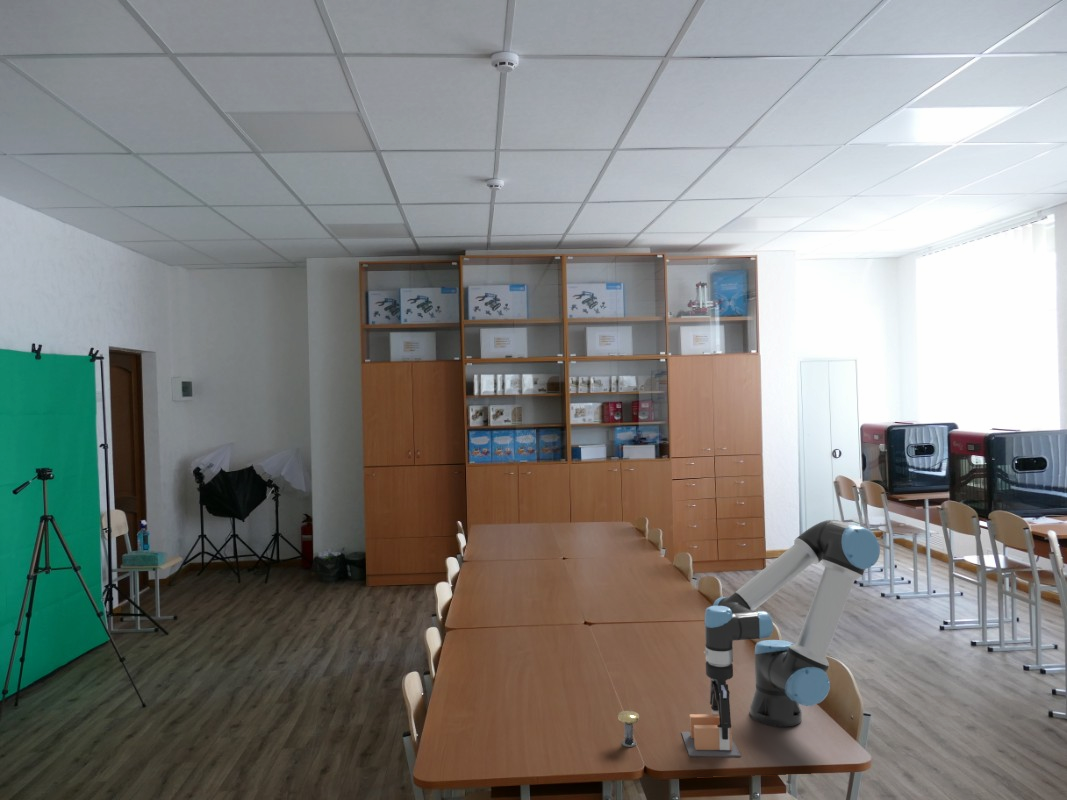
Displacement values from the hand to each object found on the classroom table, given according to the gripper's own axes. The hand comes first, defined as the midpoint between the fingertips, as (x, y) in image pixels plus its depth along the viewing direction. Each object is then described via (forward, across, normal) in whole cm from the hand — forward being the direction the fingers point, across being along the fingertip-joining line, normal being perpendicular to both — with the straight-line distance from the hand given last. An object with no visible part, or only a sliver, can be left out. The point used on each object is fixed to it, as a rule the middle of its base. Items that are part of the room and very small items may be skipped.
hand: (720, 741), depth 203 cm
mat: (+1, 0, -3) cm, 3 cm away
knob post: (+1, 0, -26) cm, 26 cm away
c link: (0, 0, -3) cm, 3 cm away
